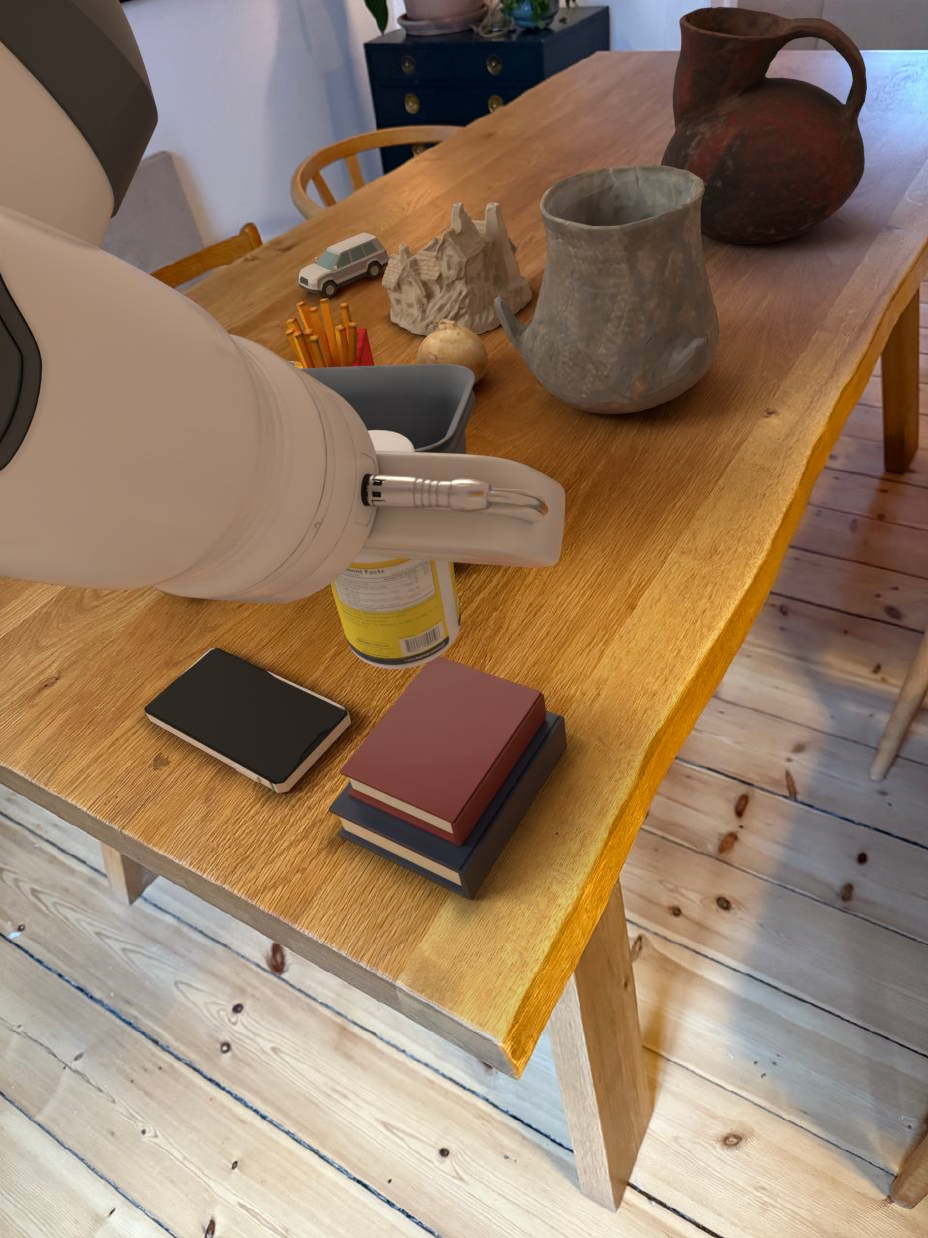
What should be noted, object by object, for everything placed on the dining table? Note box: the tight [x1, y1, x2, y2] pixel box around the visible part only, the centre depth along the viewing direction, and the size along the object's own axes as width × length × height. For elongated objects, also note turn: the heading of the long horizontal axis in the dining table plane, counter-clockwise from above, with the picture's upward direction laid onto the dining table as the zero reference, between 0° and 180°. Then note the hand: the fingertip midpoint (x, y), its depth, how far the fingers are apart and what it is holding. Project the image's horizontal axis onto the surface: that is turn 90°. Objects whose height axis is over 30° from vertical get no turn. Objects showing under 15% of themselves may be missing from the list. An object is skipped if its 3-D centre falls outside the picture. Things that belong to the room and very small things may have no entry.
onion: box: [415, 319, 489, 387], centre depth 98 cm, size 8×8×7 cm
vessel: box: [494, 164, 720, 415], centre depth 89 cm, size 22×22×20 cm
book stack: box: [328, 655, 568, 901], centre depth 58 cm, size 13×10×6 cm
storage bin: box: [299, 363, 476, 566], centre depth 77 cm, size 21×16×14 cm
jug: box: [660, 6, 868, 245], centre depth 111 cm, size 25×25×25 cm
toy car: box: [297, 232, 390, 299], centre depth 124 cm, size 6×13×5 cm, turn 128°
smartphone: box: [143, 647, 352, 794], centre depth 67 cm, size 8×1×15 cm
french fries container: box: [285, 297, 376, 368], centre depth 90 cm, size 7×9×14 cm
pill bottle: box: [329, 430, 462, 670], centre depth 46 cm, size 6×6×12 cm
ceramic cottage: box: [381, 201, 533, 337], centre depth 110 cm, size 16×16×15 cm
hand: (390, 528), depth 46 cm, fingers closed on pill bottle, 6 cm apart
